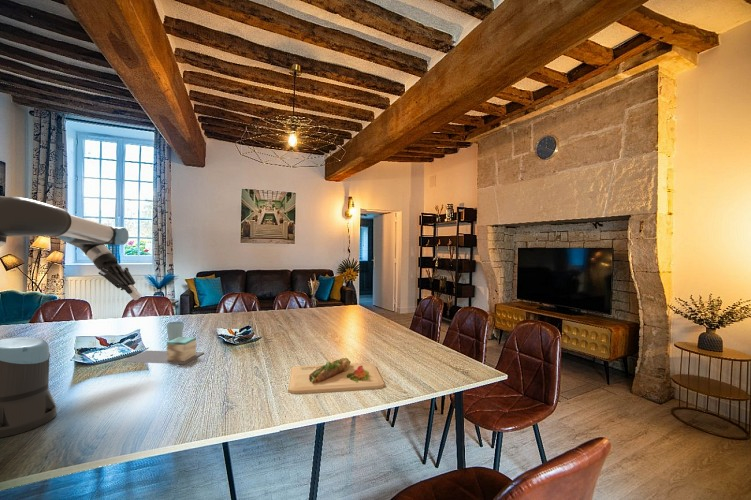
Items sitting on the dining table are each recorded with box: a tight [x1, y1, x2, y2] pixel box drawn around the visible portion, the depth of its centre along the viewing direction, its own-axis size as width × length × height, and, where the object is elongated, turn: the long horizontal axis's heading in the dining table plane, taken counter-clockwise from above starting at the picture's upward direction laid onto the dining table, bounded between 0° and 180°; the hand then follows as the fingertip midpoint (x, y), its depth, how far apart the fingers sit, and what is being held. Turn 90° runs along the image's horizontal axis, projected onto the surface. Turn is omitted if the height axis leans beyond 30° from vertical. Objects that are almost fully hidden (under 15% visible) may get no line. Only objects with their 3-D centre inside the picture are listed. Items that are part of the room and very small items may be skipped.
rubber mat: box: [120, 350, 205, 366], centre depth 143 cm, size 28×15×1 cm, turn 88°
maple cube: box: [166, 336, 197, 361], centre depth 143 cm, size 8×8×8 cm
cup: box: [166, 320, 185, 342], centre depth 165 cm, size 8×8×10 cm
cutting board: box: [287, 357, 385, 395], centre depth 126 cm, size 35×23×8 cm
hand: (138, 298), depth 137 cm, fingers closed
